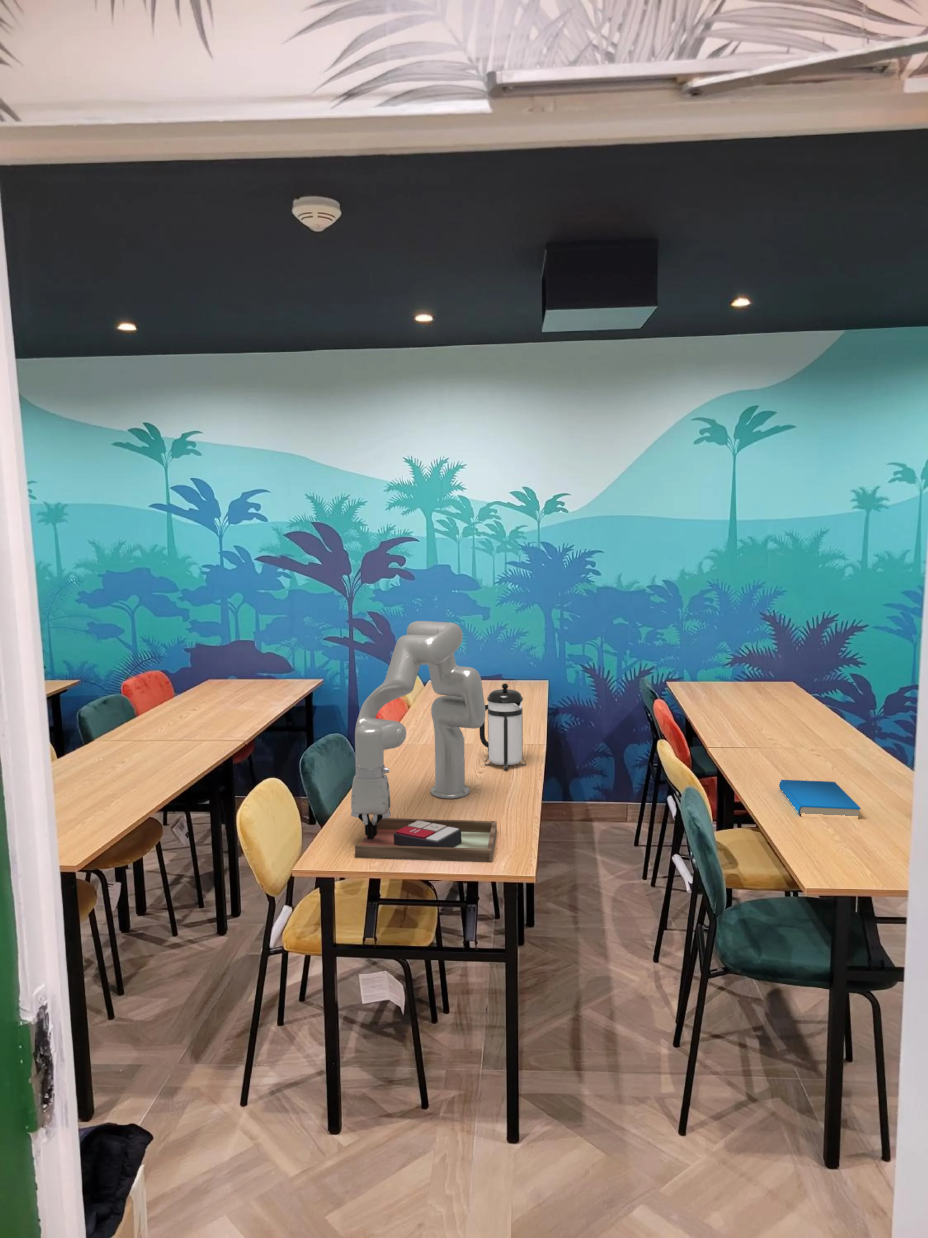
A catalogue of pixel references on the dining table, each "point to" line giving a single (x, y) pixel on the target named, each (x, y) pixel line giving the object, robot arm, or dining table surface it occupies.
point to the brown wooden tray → (472, 848)
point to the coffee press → (504, 727)
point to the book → (819, 798)
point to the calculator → (427, 835)
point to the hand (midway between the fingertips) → (371, 837)
